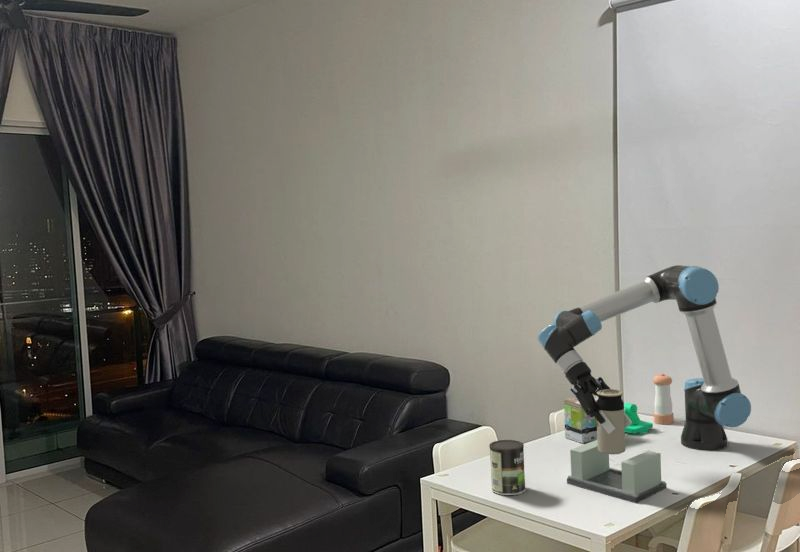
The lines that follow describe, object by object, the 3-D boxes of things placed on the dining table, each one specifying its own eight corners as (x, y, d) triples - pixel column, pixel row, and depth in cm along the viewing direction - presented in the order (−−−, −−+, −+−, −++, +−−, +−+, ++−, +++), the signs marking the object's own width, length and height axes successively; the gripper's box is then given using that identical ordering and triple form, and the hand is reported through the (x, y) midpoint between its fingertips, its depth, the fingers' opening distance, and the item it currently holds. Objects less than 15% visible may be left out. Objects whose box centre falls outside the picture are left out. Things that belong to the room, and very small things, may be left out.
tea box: (582, 444, 264) (581, 403, 263) (564, 438, 273) (562, 398, 272) (614, 436, 271) (612, 397, 270) (595, 431, 280) (593, 392, 279)
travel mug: (628, 448, 222) (626, 390, 221) (621, 456, 216) (619, 395, 215) (602, 445, 227) (600, 388, 225) (594, 453, 220) (592, 393, 219)
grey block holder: (571, 478, 226) (570, 449, 225) (598, 467, 235) (597, 439, 234) (634, 496, 209) (633, 465, 208) (661, 483, 218) (660, 453, 217)
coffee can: (530, 486, 225) (528, 441, 224) (517, 498, 216) (515, 451, 215) (500, 482, 231) (497, 438, 230) (485, 493, 222) (483, 447, 221)
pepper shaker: (671, 425, 282) (670, 375, 281) (652, 423, 286) (650, 374, 284) (675, 420, 288) (673, 372, 287) (656, 418, 292) (654, 371, 291)
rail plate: (567, 483, 226) (566, 476, 226) (598, 470, 236) (597, 463, 236) (636, 503, 208) (635, 495, 207) (666, 488, 218) (666, 481, 218)
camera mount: (633, 436, 271) (632, 409, 270) (616, 432, 277) (615, 405, 276) (654, 430, 278) (653, 403, 277) (637, 426, 284) (636, 400, 283)
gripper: (587, 370, 238) (632, 427, 227) (546, 381, 225) (592, 443, 214) (601, 355, 234) (647, 413, 222) (559, 366, 221) (607, 428, 209)
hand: (620, 428), depth 218 cm, fingers closed on travel mug, 8 cm apart
